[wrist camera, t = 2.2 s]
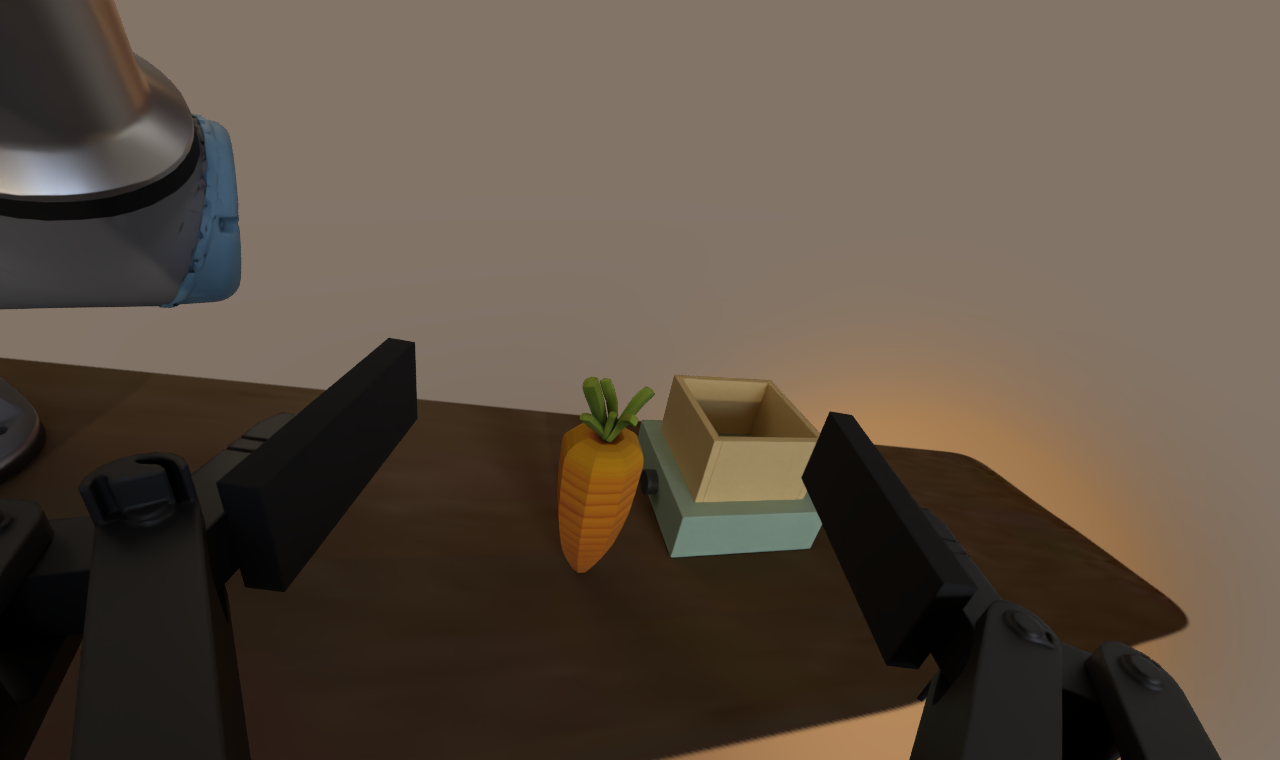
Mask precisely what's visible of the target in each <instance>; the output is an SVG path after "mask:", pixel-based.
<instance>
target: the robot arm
mask: <svg viewBox="0 0 1280 760" xmlns="http://www.w3.org/2000/svg"><path fill="white" fill-rule="evenodd" d="M236 185H237V184H236V174H235V165H234V157H233V151H232V145H231V140H230V136H229V134H228V132H227V130H226V129H225V128H224V127H223V126H222V125H220V124H219V123H217V122H215V121H211V120H207V119H205V118H204V117H202V116H200V115H194V114H191V112H190V110H189V108H188V106H187V104H186V102H185V100H184V98H183V96H182V94H181V93H180V91H179V90H178V89H177V88H176V86H175V85H174V84H173V83H172V82H171V81H170V80H169V79H168V78H167V77H166V76H165V75H164V74H163V73H162V72H161V71H159V70H158V69H157V68H155V67H154V66H153V65H152V64H150V63H149V62H148V61H146V60H145V59H143V58H141V57H140V56H138V55H137V54H135V53H134V52H132V49H131V47H130V44H129V41H128V38H127V35H126V33H125V30H124V27H123V24H122V21H121V19H120V16H119V13H118V10H117V7H116V5H115V2H114V0H0V309H28V308H29V309H30V308H70V307H71V308H74V307H75V308H76V307H129V306H130V307H131V306H159V307H165V308H166V307H167V308H171V307H175V306H178V305H180V304H190V303H205V302H216V301H222V300H225V299H227V298H229V297H230V296H232V295H233V294H234V293H235V292H236V291H237V289H238V287H239V285H240V279H241V243H240V231H239V226H238V221H239V217H238V196H237V186H236ZM415 361H416V360H415V342H410V341H404V340H399V339H392V338H388V339H387V340H386V341H385V342H383V343H382V344H381V345H380V346H379V347H377V348H376V349H375V350H374V351H373V352H371V353H370V354H369V355H368V356H367V357H365V358H364V359H363V360H362V361H361V362H359V363H358V364H357V365H356V366H355V367H353V368H352V369H351V370H350V371H349V372H347V373H346V374H345V375H344V376H343V377H342V378H340V379H339V380H338V381H337V382H336V383H334V384H333V385H332V386H331V387H329V388H328V389H327V390H326V391H325V392H324V393H322V394H321V395H320V396H319V397H318V398H316V399H315V400H314V401H313V402H312V403H310V404H309V405H308V406H307V407H306V408H304V409H303V410H302V411H301V412H300V413H298V414H291V413H285V412H282V413H279V414H277V415H275V416H272V417H270V418H268V419H265V420H263V421H261V422H259V423H257V424H256V425H255V426H253V427H252V428H251V429H249V430H248V431H247V432H246V433H244V434H243V435H242V437H241V439H240V438H238V439H237V440H235V441H234V442H233V443H231V444H230V445H229V446H227V449H226V450H222V451H221V452H220V453H218V454H217V455H216V456H215V457H213V458H212V459H211V460H209V461H208V462H207V463H205V464H204V465H203V466H202V467H200V468H199V469H198V470H196V471H195V472H194V473H193V474H190V470H189V467H188V464H187V463H186V461H185V460H184V458H183V457H180V456H178V455H175V454H172V453H160V452H154V453H145V454H136V455H133V456H129V457H125V458H121V459H118V460H115V461H112V462H110V463H108V464H106V465H104V466H101V467H99V468H97V469H96V470H94V471H93V472H92V473H90V474H89V475H88V476H86V477H85V478H84V479H83V480H82V482H81V484H80V486H79V487H78V490H79V492H80V494H81V496H82V498H83V501H84V503H85V505H86V507H87V509H88V512H89V514H90V516H91V517H79V518H67V519H55V520H48V519H47V517H46V515H45V513H44V511H43V509H42V508H41V507H40V506H39V504H38V503H37V502H34V501H30V500H26V499H2V500H0V760H24V759H25V756H26V754H27V752H28V750H29V748H30V746H31V744H32V742H33V740H34V738H35V736H36V734H37V732H38V730H39V728H40V726H41V724H42V721H43V719H44V717H45V715H46V713H47V711H48V709H49V707H50V705H51V703H52V701H53V699H54V697H55V695H56V693H57V691H58V689H59V686H60V684H61V682H62V680H63V678H64V676H65V674H66V672H67V670H68V668H69V666H70V664H71V662H72V660H73V658H74V656H75V654H76V652H77V649H78V647H79V645H80V643H81V641H82V639H83V643H82V653H81V662H80V672H79V681H78V691H77V700H76V710H75V719H74V729H73V738H72V748H71V757H70V760H251V758H250V750H249V743H248V736H247V729H246V722H245V715H244V708H243V700H242V693H241V686H240V679H239V672H238V665H237V658H236V650H235V643H234V636H233V629H232V622H231V615H230V607H229V600H228V594H227V590H226V587H225V583H226V582H227V581H228V580H229V579H230V578H231V577H232V575H233V574H234V573H235V572H236V571H237V570H238V569H239V568H240V570H241V574H242V577H243V581H244V585H245V587H247V588H255V589H264V590H272V591H280V592H285V591H286V589H287V588H288V587H289V586H290V584H291V583H292V582H293V580H294V579H295V578H296V576H297V575H298V574H299V573H300V571H301V570H302V569H303V567H304V566H305V565H306V563H307V562H308V561H309V559H310V558H311V557H312V556H313V554H314V553H315V552H316V550H317V549H318V548H319V546H320V545H321V544H322V542H323V541H324V540H325V539H326V537H327V536H328V535H329V533H330V532H331V531H332V529H333V528H334V527H335V526H336V524H337V523H338V522H339V520H340V519H341V518H342V516H343V515H344V514H345V512H346V511H347V510H348V509H349V507H350V506H351V505H352V503H353V502H354V501H355V499H356V498H357V497H358V496H359V494H360V493H361V492H362V490H363V489H364V488H365V486H366V485H367V484H368V482H369V481H370V480H371V479H372V477H373V476H374V475H375V473H376V472H377V471H378V469H379V468H380V467H381V466H382V464H383V463H384V462H385V460H386V459H387V458H388V456H389V455H390V454H391V452H392V451H393V450H394V449H395V447H396V446H397V445H398V443H399V442H400V441H401V439H402V438H403V437H404V436H405V434H406V433H407V432H408V430H409V429H410V428H411V426H412V425H413V424H414V422H415V421H416V420H417V392H416V362H415ZM44 439H45V430H44V427H43V425H42V423H41V421H40V418H39V416H38V414H37V412H36V410H35V408H34V407H33V406H32V405H31V404H30V402H29V401H28V400H27V399H26V398H25V397H24V396H23V395H22V394H21V393H20V392H19V391H17V390H16V389H15V388H14V387H13V386H12V385H10V384H9V383H8V382H7V381H6V380H4V379H3V378H2V377H1V376H0V484H1V483H2V482H4V481H5V480H7V479H8V478H10V477H11V476H13V475H14V474H15V473H17V472H18V471H19V470H21V469H22V468H23V467H24V466H25V465H26V464H28V463H29V462H30V461H31V460H32V459H33V458H34V457H35V455H36V454H37V453H38V451H39V450H40V449H41V447H42V445H43V443H44ZM801 479H802V481H803V483H804V485H805V487H806V490H807V492H808V494H809V496H810V498H811V501H812V503H813V505H814V507H815V509H816V512H817V514H818V516H819V518H820V520H821V523H822V525H823V527H824V529H825V531H826V534H827V536H828V538H829V540H830V542H831V545H832V547H833V549H834V551H835V553H836V556H837V558H838V560H839V562H840V564H841V567H842V569H843V571H844V573H845V575H846V578H847V580H848V582H849V584H850V586H851V588H852V591H853V593H854V595H855V597H856V599H857V602H858V604H859V606H860V608H861V610H862V613H863V615H864V617H865V619H866V621H867V624H868V626H869V628H870V630H871V632H872V635H873V637H874V639H875V641H876V643H877V646H878V648H879V650H880V652H881V654H882V657H883V659H884V661H885V663H886V665H887V666H895V667H903V668H911V669H919V667H920V666H921V665H922V663H923V662H924V661H925V659H926V658H927V657H928V655H929V654H930V653H931V654H932V655H933V657H934V659H935V661H936V663H937V665H938V666H939V668H940V669H939V670H938V671H937V673H936V674H935V675H934V677H933V678H932V679H931V680H930V682H929V683H928V684H927V685H926V687H925V688H924V689H923V691H922V692H921V693H920V695H919V696H918V697H917V699H918V700H920V701H921V702H922V701H923V700H924V699H925V698H926V697H927V699H926V702H925V706H924V710H923V714H922V717H921V720H920V724H919V727H918V731H917V735H916V739H915V742H914V745H913V749H912V752H911V756H910V760H1117V759H1118V758H1120V757H1121V760H1221V758H1220V757H1219V755H1218V753H1217V751H1216V749H1215V748H1214V746H1213V744H1212V742H1211V741H1210V739H1209V737H1208V735H1207V733H1206V732H1205V730H1204V728H1203V726H1202V725H1201V723H1200V721H1199V719H1198V717H1197V715H1196V714H1195V712H1194V710H1193V708H1192V707H1191V705H1190V703H1189V701H1188V700H1187V698H1186V696H1185V694H1184V692H1183V691H1182V689H1181V688H1180V687H1179V685H1178V684H1177V683H1176V681H1175V680H1174V679H1173V678H1172V677H1171V676H1170V675H1169V674H1168V673H1167V672H1166V671H1165V670H1164V669H1163V668H1162V667H1161V666H1160V665H1159V664H1158V663H1156V662H1155V661H1154V660H1151V659H1150V657H1148V656H1146V655H1145V654H1143V653H1142V652H1139V651H1137V650H1135V649H1134V648H1132V647H1130V646H1128V645H1125V644H1122V643H1119V642H1116V641H1105V642H1104V643H1103V644H1102V645H1101V646H1100V647H1099V648H1098V649H1097V650H1096V651H1095V652H1094V653H1093V654H1091V653H1089V652H1086V651H1084V650H1081V649H1078V648H1076V647H1073V646H1071V645H1068V644H1066V643H1063V642H1060V641H1059V639H1058V638H1057V636H1056V635H1055V634H1054V632H1053V631H1052V629H1051V628H1050V627H1049V626H1048V625H1047V624H1045V623H1044V622H1043V621H1042V620H1041V619H1040V618H1039V617H1038V616H1036V615H1035V614H1033V613H1032V612H1030V611H1029V610H1027V609H1026V608H1024V607H1022V606H1019V605H1017V604H1015V603H1013V602H1009V601H1005V600H1003V599H1002V598H1001V597H1000V596H999V594H998V593H997V592H996V590H995V589H994V588H993V586H992V585H991V584H990V582H989V581H988V580H987V579H986V577H985V576H984V575H983V573H982V572H981V571H980V569H979V568H978V567H977V565H976V564H975V563H974V562H973V560H972V559H971V558H970V556H969V555H966V551H965V550H964V548H963V547H962V546H961V544H960V543H959V542H956V538H955V537H954V535H953V534H952V533H951V531H950V530H949V529H948V527H947V526H946V525H945V524H944V523H943V522H942V521H941V520H940V519H939V518H937V517H936V516H935V515H934V514H933V513H931V512H930V511H929V510H928V509H926V508H920V507H919V506H918V505H917V503H916V502H915V500H914V499H913V498H912V496H911V495H910V494H909V492H908V491H907V489H906V488H905V487H904V485H903V484H902V483H901V481H900V480H899V479H898V477H897V476H896V474H895V473H894V472H893V470H892V469H891V468H890V466H889V465H888V463H887V462H886V461H885V459H884V458H883V457H882V455H881V454H880V453H879V451H878V450H877V448H876V447H875V446H874V444H873V443H872V442H871V440H870V439H869V437H868V436H867V435H866V434H865V432H864V431H863V429H862V428H861V427H860V425H859V424H858V422H857V421H856V420H855V418H854V417H853V416H852V415H848V414H842V413H836V412H829V415H828V417H827V419H826V422H825V424H824V426H823V428H822V431H821V433H820V435H819V438H818V440H817V442H816V445H815V447H814V449H813V452H812V454H811V456H810V458H809V461H808V463H807V465H806V468H805V470H804V472H803V475H802V477H801Z"/></svg>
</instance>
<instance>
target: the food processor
mask: <svg viewBox="0 0 1280 760" xmlns="http://www.w3.org/2000/svg"><path fill="white" fill-rule="evenodd" d="M819 435H820V433H819V432H818V430H817V429H816V428H815V427H814V426H813V425H812V424H811V423H810V422H809V421H808V420H807V419H806V418H805V416H803V414H802V413H801V412H800V411H799V410H798V409H797V408H796V407H795V406H794V405H793V404H792V403H791V401H790V400H789V399H788V398H787V397H786V396H785V395H784V394H783V393H782V392H781V391H780V390H779V389H778V387H777V386H776V385H775V384H774V383H773V382H772V381H771V380H757V379H739V378H722V377H704V376H683V375H674V379H673V382H672V386H671V390H670V395H669V398H668V402H667V406H666V410H665V414H664V418H663V421H660V420H642V422H641V426H640V431H639V435H638V440H639V443H640V447H641V450H642V453H643V459H644V462H643V468H642V471H641V480H640V483H641V490H642V493H643V494H648V496H649V499H650V501H651V504H652V507H653V510H654V512H655V515H656V518H657V521H658V524H659V526H660V529H661V532H662V535H663V538H664V540H665V543H666V546H667V549H668V552H669V554H670V557H687V556H702V555H718V554H733V553H749V552H764V551H780V550H795V549H810V547H811V545H812V543H813V541H814V539H815V537H816V535H817V533H818V531H819V529H820V527H821V525H822V523H821V520H820V518H819V516H818V514H817V512H816V509H815V507H814V505H813V503H812V501H811V498H810V496H809V494H808V492H807V490H806V487H805V485H804V483H803V481H802V479H801V477H802V475H803V472H804V470H805V468H806V465H807V463H808V461H809V458H810V456H811V454H812V452H813V449H814V447H815V445H816V442H817V440H818V438H819Z"/></svg>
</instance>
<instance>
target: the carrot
mask: <svg viewBox="0 0 1280 760" xmlns="http://www.w3.org/2000/svg"><path fill="white" fill-rule="evenodd" d="M600 384H601V387H602V390H601V387H600ZM600 384H599V381H598V378H596V377H590V378H587V379H585V381H584V382H583V391H584V394H585V397H586V400H587V402H588V405H589V407H590V410H591V412H592V414H588V413H582V414H581V415H580V420H581V421H582V422H583V423H582V424H580V425H578V426H577V427H575V428H573V429H572V430H570V431H568V432H566V433H565V435H564V437H563V439H562V443H561V452H560V461H559V471H558V485H557V501H558V517H559V530H560V539H561V546H562V549H563V552H564V554H565V557H566V559H567V561H568V562H569V564H570V565H571V567H572V569H574V570H575V571H576V572H578V573H585V572H586V571H587V570H589V569H590V568H591V567H592V566H593V565H595V564H596V563H597V562H598V561H599V560H600V559H601V558H602V557H603V555H604V554H605V553H606V552H607V551H608V549H609V548H610V547H611V546H612V545H613V543H614V541H615V539H616V537H617V536H618V534H619V532H620V530H621V528H622V526H623V524H624V522H625V520H626V518H627V516H628V514H629V511H630V508H631V505H632V502H633V499H634V496H635V492H636V489H637V486H638V482H639V478H640V475H641V471H642V468H643V462H644V459H643V453H642V450H641V447H640V443H639V440H638V437H637V435H636V434H635V433H634V432H632V431H630V430H629V429H627V428H625V427H627V426H629V425H630V426H636V424H637V423H638V418H637V417H636V416H635V414H636V413H637V412H638V411H639V410H640V409H641V408H642V407H643V406H644V404H645V403H646V402H648V401H649V400H650V399H651V398H652V397H653V396H654V395H655V393H654V392H653V390H652V389H650V388H648V387H644V388H643V389H642V390H640V391H639V392H638V393H637V394H636V395H635V396H634V397H633V398H632V400H631V401H630V403H629V404H628V406H627V407H626V409H625V410H624V411H623V413H622V415H621V416H620V418H619V419H618V421H617V416H618V406H617V405H618V402H617V398H616V393H615V389H614V387H613V384H612V382H611V379H602V380H601V381H600ZM602 391H603V394H604V397H605V400H606V404H607V410H608V418H607V415H606V408H605V402H604V398H603V394H602Z"/></svg>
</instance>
